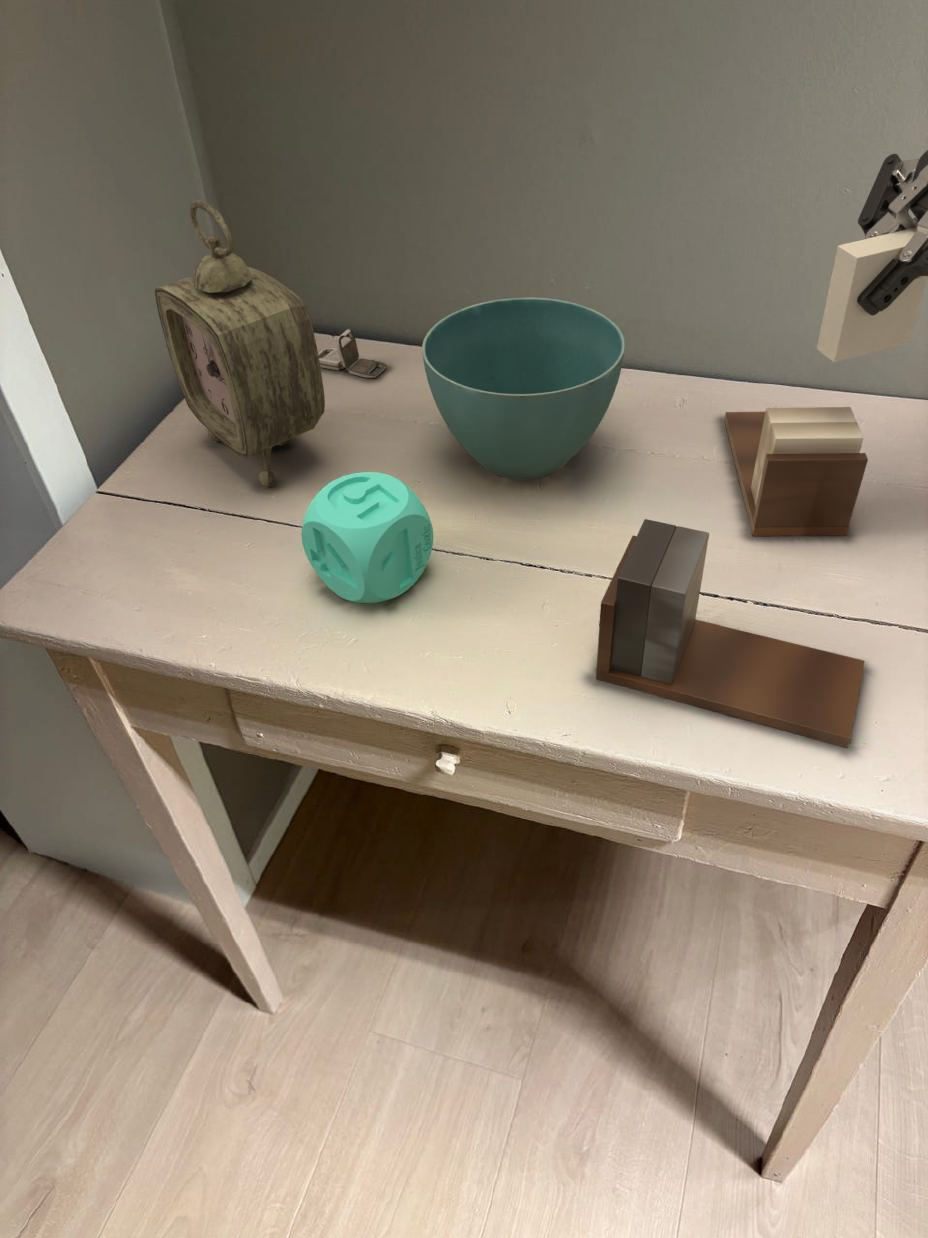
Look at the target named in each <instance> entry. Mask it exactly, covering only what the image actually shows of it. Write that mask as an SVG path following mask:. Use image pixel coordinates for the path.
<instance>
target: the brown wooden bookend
mask: <svg viewBox="0 0 928 1238" xmlns="http://www.w3.org/2000/svg"><path fill="white" fill-rule="evenodd" d="M709 539H710V532H707V531H703V530H698V529H693V528H689V527H684V526H680V525H676V524H671V523H666V522H662V521H656V520H652V519H648V518H644V520H643V521H642V524H641V526H640V528H639V531H638V532H637V535H632V536H631V538H630V540H629V542H628V544H627V546H626V549H625V550H624V552H623V555H622V557H621V559H620V561H619V563H618V565H617V568H616V569H615V572H614V574H613V576H612V578H611V580H610V583H609V584H608V586H607V589H606V591H605V592H604V595H603V596H602V599H601V601H600V607H599V608H600V611H599V623H598V624H599V625H598V627H599V628H598V640H597V643H598V644H597V655H596V658H597V659H596V671H595V679H596V680H599V681H602V682H605V683H606V682H607V683H609V684H614V685H617V686H621V687H625V688H628V689H631V690H635V691H638V692H642V693H646V694H650V695H653V696H658V697H661V698H664V699H668V700H671V701H675V702H680V703H683V704H686V705H691V706H693V707H696V708H697V707H698V708H702V709H705V710H708V711H712V712H716V713H720V714H723V715H726V716H731V717H734V718H738V719H741V720H746V721H749V722H753V723H757V724H759V725H763V726H768V727H771V728H775V729H778V730H781V731H782V730H783V731H786V732H789V733H792V734H796V735H801V736H804V737H808V738H812V739H815V740H818V741H822V742H826V743H830V744H833V745H836V746H841V747H844V748H848V747H849V743H850V741H851V737H852V733H853V727H854V722H855V716H856V711H857V707H858V699H859V695H860V688H861V684H862V679H863V673H864V667H865V662H866V661H865V660H864V659H860V658H855V657H852V656H848V655H843V654H839V653H835V652H831V651H826V650H823V649H819V648H816V647H815V648H814V647H811V646H807V645H803V644H799V643H794V642H790V641H786V640H782V639H777V638H773V637H770V636H765V635H761V634H757V633H753V632H749V631H745V630H741V629H737V628H732V627H728V626H724V625H720V624H716V623H713V622H709V621H704V620H701V619H697V614H698V613H697V612H698V608H699V607H698V605H699V600H700V593H701V589H702V583H703V576H704V569H705V563H706V558H707V552H708V551H707V550H708V545H709Z"/></svg>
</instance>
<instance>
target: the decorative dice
mask: <svg viewBox="0 0 928 1238" xmlns="http://www.w3.org/2000/svg"><path fill="white" fill-rule="evenodd" d="M300 535H301V536H300V537H301V543H302V548H303V550H304V553H305V555H306V558H307V560H308V562H309V563H310V565H311V567H312V569H313V570H314V572H315V573H316V575H317V576H318V578H319V579H320V580H321V581H322V582H323V584H324V585H325V586H326V587H327V588H328V589H330V590H331V591H332V592H333V593H334V594H336V595H337V596H338V597H340V598H341V599H344V600H345V601H346V600H347V601H350V602H353V603H359V604H376V603H383V602H386V601H390V600H392V599H395V598H397V597H399V596H401V595H402V594H404V593H405V592H407V591H408V590H409V589H410V588H411V587H412V586H413V585H415V584H416V582H417V581H418V580H419V578H420V577H421V575H422V574H423V573H424V571H425V570H426V568H427V565H428V563H429V561H430V558H431V555H432V551H433V546H434V528H433V524H432V520H431V518H430V515H429V513H428V510H427V509H426V507H425V505H424V504H423V502H422V500H421V499H420V498H419V496H418V495H417V494H416V493H415V492H414V490H412V488H410V486H408V485H407V484H406V483H405V482H403V481H402V480H401V479H398V478H396V477H394V476H392V475H390V474H386V473H383V472H375V471H362V472H355V473H350V474H346V475H342V476H340V477H338V478H336V479H333V480H332V481H330V482H329V483H328V484H326V485H325V486H324V487H322V489H320V491H318V493H317V494H316V495H315V496H314V498H313V499H312V501H311V502H310V503H309V506H308V508H307V510H306V512H305V514H304V517H303V520H302V527H301V534H300Z"/></svg>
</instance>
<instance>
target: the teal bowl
mask: <svg viewBox="0 0 928 1238" xmlns="http://www.w3.org/2000/svg"><path fill="white" fill-rule="evenodd" d="M625 346H626V342H625V337H624V335H623V333H622V330H621V329H620V328H619V326H618V325H617V324H616V323H615V322H614V321H613V320H612V319H610V318H609V317H607V316H606V315H604V314H603V313H601V312H599V311H597V310H595V309H592V308H590V307H588V306H585V305H582V304H578V303H575V302H571V301H568V300H561V299H556V298H546V297H511V298H502V299H501V298H500V299H493V300H489V301H484V302H479V303H476V304H473V305H469V306H467V307H464V308H462V309H459V310H456V311H455V312H452V313H450V314H448V315H446V316H445V317H443V318H442V319H440V320H439V321H438V322H436V323H435V324H434V325H433V326H432V327H431V328H430V329H429V330H428V332H427V333H426V335H425V337H424V338H423V341H422V344H421V353H422V360H423V367H424V370H425V375H426V380H427V383H428V386H429V389H430V392H431V395H432V398H433V400H434V403H435V405H436V407H437V410H438V411H439V414H440V416H441V417H442V420H443V421H444V423H445V425H446V426H447V428H448V430H449V431H450V433H451V434H452V436H453V437H454V439H455V440H456V441H457V442H458V444H459V445H460V446H461V447H462V449H464V451H466V452H467V454H469V455H470V456H471V457H472V458H473V459H474V460H475V461H476V462H477V463H478V464H480V465H481V466H482V467H483V468H484V469H486V470H487V471H489V472H490V473H492V474H494V475H496V476H499V477H502V478H506V479H510V480H518V481H519V480H522V481H523V480H524V481H526V480H533V479H540V478H543V477H546V476H548V475H551V474H553V473H555V472H557V471H558V470H559V469H561V468H562V467H564V466H565V465H566V464H567V463H568V462H569V461H570V460H572V458H573V457H575V455H577V454H578V453H579V452H580V451H581V449H583V447H584V446H585V445H587V443H588V442H589V440H590V439H591V438H592V437H593V435H594V434H595V432H596V431H597V430H598V427H599V426H600V424H601V422H602V421H603V419H604V417H605V415H606V413H607V411H608V409H609V407H610V404H611V403H612V400H613V398H614V395H615V392H616V389H617V386H618V384H619V380H620V376H621V372H622V368H623V362H624V358H625V357H624V356H625V349H626V347H625Z"/></svg>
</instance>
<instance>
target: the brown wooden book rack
mask: <svg viewBox="0 0 928 1238" xmlns="http://www.w3.org/2000/svg"><path fill="white" fill-rule="evenodd" d="M724 424H725V428H726V434H727V437H728V440H729V445H730V448H731V452H732V456H733V457H732V458H733V461H734V464H735V470H736V472H737V476H738V481H739V484H740V485H739V486H740V488H741V493H742V497H743V502H744V505H745V510H746V513H747V518H748V520H749V521H748V522H749V525H750V530H751V533H752V536H753V537H783V536H785V537H794V536H795V537H802V536H803V537H810V536H812V537H813V536H817V537H819V536H821V537H822V536H824V537H825V536H826V537H827V536H830V537H831V536H832V537H833V536H834V537H836V536H839V537H840V536H841V537H842V536H847V534H848V531H849V526H850V523H851V520H852V517H853V513H854V510H855V505H856V502H857V499H858V496H859V492H860V489H861V485H862V482H863V480H864V479H863V478H864V476H865V472H866V469H867V464H868V461H869V458H868V456H867V453H866V452H861V449H862V445H863V442H864V436H863V433H862V431H861V428H860V426H859V423H858V421H857V419H856V417H855V414H854V412H853V409H852V407H851V406H824V407H823V406H822V407H821V406H819V407H817V406H814V407H813V406H812V407H766V408H765V411H726V412H725V413H724Z"/></svg>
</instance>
